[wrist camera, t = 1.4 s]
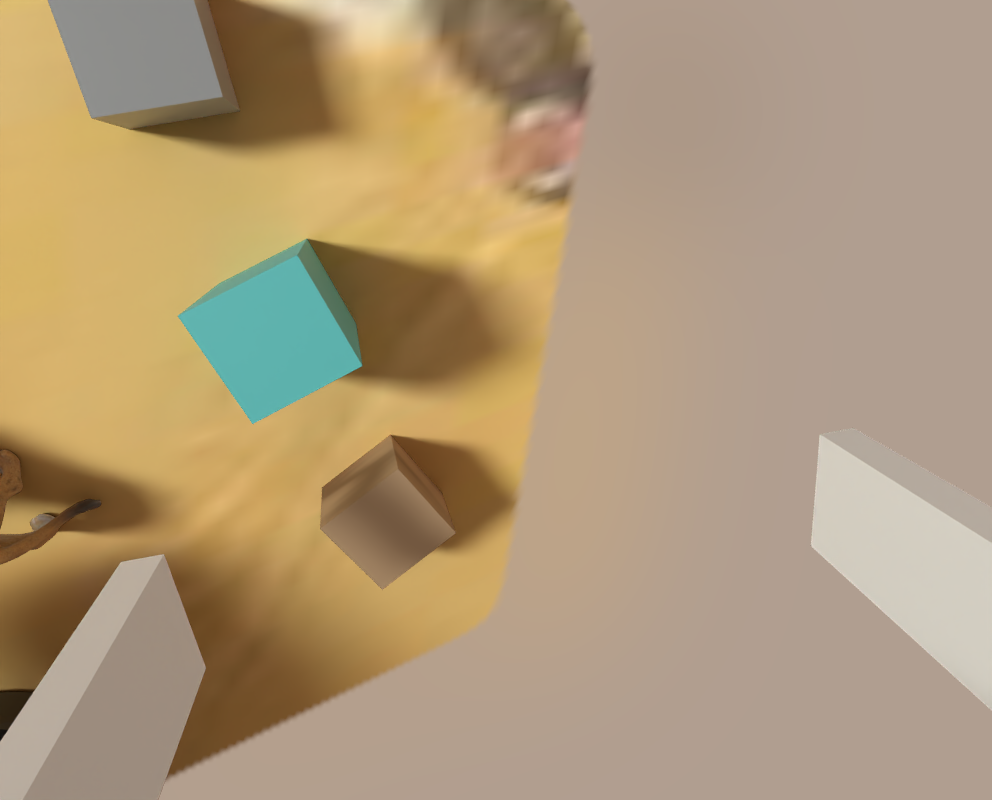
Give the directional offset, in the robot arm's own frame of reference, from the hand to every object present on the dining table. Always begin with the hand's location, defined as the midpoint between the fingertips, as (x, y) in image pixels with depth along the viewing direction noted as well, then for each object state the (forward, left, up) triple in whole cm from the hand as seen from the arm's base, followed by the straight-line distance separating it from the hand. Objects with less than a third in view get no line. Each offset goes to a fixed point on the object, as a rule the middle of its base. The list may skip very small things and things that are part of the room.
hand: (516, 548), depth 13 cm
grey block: (-4, +16, -24) cm, 29 cm away
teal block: (-5, +4, -24) cm, 25 cm away
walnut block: (-6, -8, -24) cm, 26 cm away
